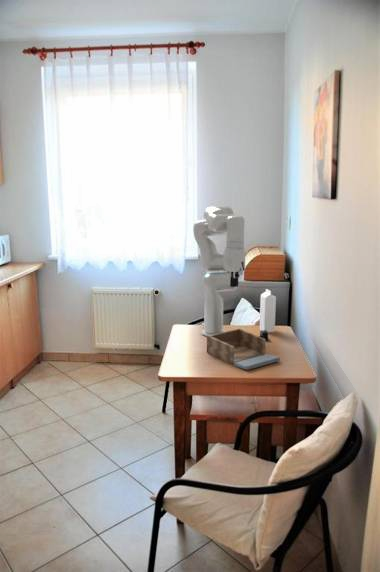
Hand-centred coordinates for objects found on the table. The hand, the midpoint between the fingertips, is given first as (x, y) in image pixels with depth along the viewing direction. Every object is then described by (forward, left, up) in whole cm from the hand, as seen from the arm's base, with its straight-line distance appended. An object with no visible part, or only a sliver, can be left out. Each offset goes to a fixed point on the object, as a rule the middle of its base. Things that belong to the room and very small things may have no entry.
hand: (234, 286), depth 203 cm
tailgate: (+12, 0, -31) cm, 33 cm away
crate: (+2, 0, -31) cm, 31 cm away
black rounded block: (-7, +25, -32) cm, 41 cm away
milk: (-16, +36, -31) cm, 50 cm away
